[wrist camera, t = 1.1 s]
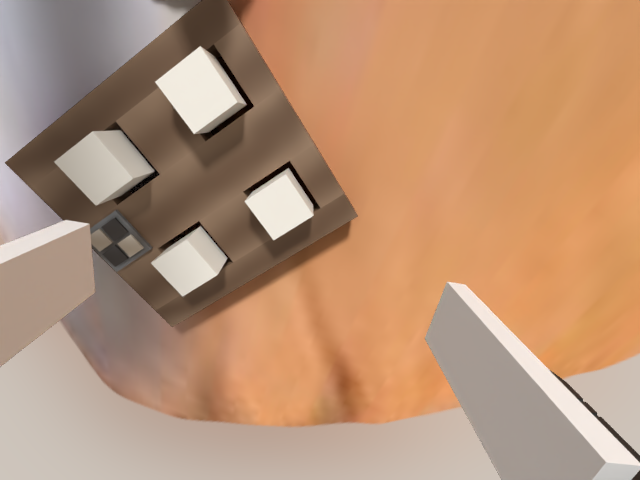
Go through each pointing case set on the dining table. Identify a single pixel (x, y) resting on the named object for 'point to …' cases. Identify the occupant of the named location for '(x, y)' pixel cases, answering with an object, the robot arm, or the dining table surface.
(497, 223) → the dining table surface
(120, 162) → the button
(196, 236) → the button
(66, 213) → the board
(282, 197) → the button
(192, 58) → the button
